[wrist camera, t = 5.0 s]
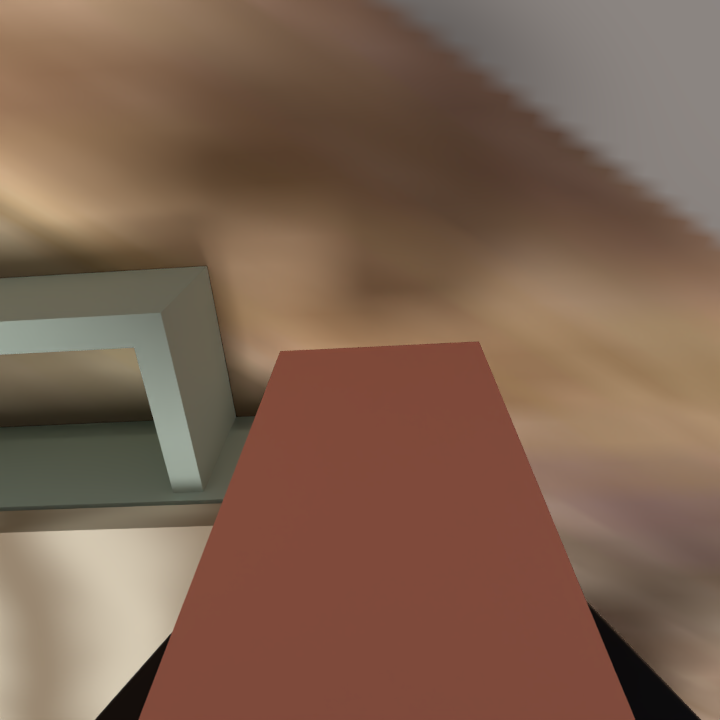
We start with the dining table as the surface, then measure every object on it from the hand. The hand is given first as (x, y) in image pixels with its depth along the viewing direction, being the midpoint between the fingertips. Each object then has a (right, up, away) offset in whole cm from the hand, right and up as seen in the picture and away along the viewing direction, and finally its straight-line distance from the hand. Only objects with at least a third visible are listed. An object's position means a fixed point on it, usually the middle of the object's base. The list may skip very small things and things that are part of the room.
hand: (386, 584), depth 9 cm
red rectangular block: (0, +2, +4) cm, 5 cm away
